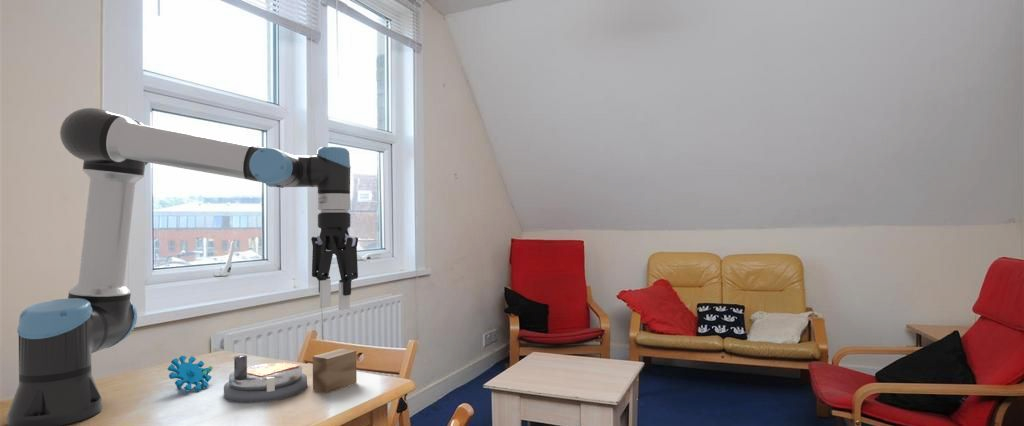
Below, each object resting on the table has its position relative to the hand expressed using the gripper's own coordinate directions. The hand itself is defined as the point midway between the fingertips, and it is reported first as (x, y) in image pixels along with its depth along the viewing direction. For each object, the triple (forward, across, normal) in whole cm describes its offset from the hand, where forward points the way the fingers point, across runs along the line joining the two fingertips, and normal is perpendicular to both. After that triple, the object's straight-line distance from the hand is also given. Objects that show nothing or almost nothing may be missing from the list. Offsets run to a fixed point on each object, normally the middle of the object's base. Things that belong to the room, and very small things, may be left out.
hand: (334, 307), depth 136 cm
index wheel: (+17, -12, -10) cm, 23 cm away
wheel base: (+19, -12, -10) cm, 24 cm away
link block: (+19, 0, 0) cm, 19 cm away
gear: (+19, -29, -18) cm, 39 cm away
